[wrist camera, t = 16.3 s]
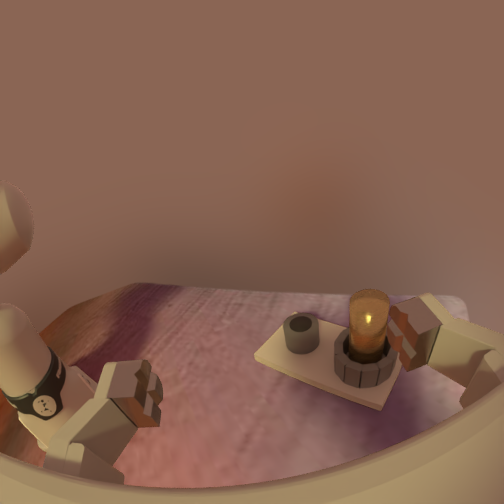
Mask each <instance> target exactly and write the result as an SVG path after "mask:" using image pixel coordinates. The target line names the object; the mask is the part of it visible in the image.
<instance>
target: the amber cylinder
mask: <svg viewBox="0 0 504 504" xmlns="http://www.w3.org/2000/svg"><path fill="white" fill-rule="evenodd" d="M389 304H390V301H389V298H388V296H387V295H386V294H385V293H383V292H381V291H379V290H375V289H365V290H361V291H358V292H356V293H355V294H353V296H352V297H351V298H350V321H349V355H348V358H349V359H350V360H351V361H354V362H357V363H360V364H372V363H377V362H379V361H380V360H382V354H383V348H384V342H385V335H386V328H387V321H388V313H389Z"/></svg>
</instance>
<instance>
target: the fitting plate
mask: <svg viewBox="0 0 504 504" xmlns="http://www.w3.org/2000/svg"><path fill="white" fill-rule="evenodd" d="M399 354H400V353H399V352H397V351H395V350H393V349H392V347H391V345H390V343H389V341H388V337H387V328H386V335H385V342H384V348H383V354H382V360H380V361H379V362H377V363H372V364H360V363H357V362H354V361H351V360H350V359H349V358H348V355H349V327H348V328H346V327H343V326H340V325H336V324H333V323H330V322H326V321H323V320H320V319H317V318H316V317H315V316H314V315H312V314H309V313H298V312H294V313H293V314H292V315H291V316H290V317H288V318H287V319H286V320H285V321H284V324H283V325H282V326H281V327H280V328H279V329H278V330H277V331H276V332H275V333H274V334H273V335H272V336H271V337H270V338H269V339H268V340H267V341H266V342H265V343H264V344H263V346H262V347H261V348H260V349H259V350H258V351H257V352H256V353H255V354H254V356H255V360H256V361H258V362H260V363H263V364H265V365H267V366H269V367H271V368H273V369H275V370H278V371H280V372H282V373H284V374H287V375H289V376H291V377H293V378H296V379H298V380H300V381H303V382H305V383H307V384H310V385H312V386H315V387H317V388H319V389H322V390H324V391H327V392H329V393H332V394H335V395H337V396H340V397H342V398H345V399H348V400H350V401H353V402H356V403H359V404H361V405H364V406H367V407H370V408H373V409H376V410H379V411H381V410H382V408H383V406H384V404H385V402H386V400H387V398H388V396H389V394H390V392H391V390H392V388H393V385H394V383H395V381H396V379H397V377H398V374H399V372H400V370H401V367H402V363H401V361H400V360H399Z"/></svg>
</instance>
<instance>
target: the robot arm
mask: <svg viewBox="0 0 504 504" xmlns="http://www.w3.org/2000/svg"><path fill="white" fill-rule="evenodd" d="M33 232H34V221H33V215H32V210H31V207H30V205H29V203H28V201H27V199H26V197H25V196H24V194H23V193H22V192H21V191H20V190H19V189H18V188H17V187H16V186H14V185H13V184H11V183H9V182H7V181H2V180H0V275H1V274H2V273H4V272H6V271H7V270H8V269H9V268H10V267H11V266H12V265H13V264H14V263H16V262H17V261H18V260H19V259H20V258H21V257H22V256H23V255H24V254H25V253H26V252H27V251H29V249H30V247H31V243H32V239H33ZM389 315H390V317H391V318H392V319H391V320H390V322H389V323H388V324H387V337H388V341H389V343H390V345H391V347H392V349H393V350H395V351H397V352H399V353H400V354H399V360H400V361H401V363H402V365H403V366H404V368H405V369H406V371H407V372H409V371H411V370H414V369H416V368H419V367H421V366H423V365H426V364H427V365H428V366H430V367H431V368H433V369H435V370H437V371H438V372H440V373H442V374H443V375H445V376H447V377H448V378H450V379H452V380H454V381H455V382H457V383H459V384H460V385H462V386H464V387H466V389H465V391H464V393H463V394H462V396H461V398H460V401H459V402H460V404H461V405H462V407H463V410H461V411H459V412H458V413H456V414H454V415H453V416H451V417H449V418H448V419H446V420H444V421H442V422H440V423H439V424H437V425H435V426H433V427H431V428H429V429H427V430H425V431H423V432H421V433H419V434H417V435H415V436H413V437H411V438H409V439H406V440H404V441H402V442H400V443H397V444H395V445H393V446H390V447H388V448H386V449H383V450H381V451H378V452H375V453H373V454H370V455H367V456H364V457H362V458H359V459H356V460H353V461H350V462H347V463H344V464H340V465H337V466H334V467H330V468H326V469H323V470H319V471H315V472H311V473H307V474H303V475H298V476H293V477H289V478H283V479H278V480H272V481H266V482H260V483H252V484H244V485H235V486H223V487H206V488H161V487H144V486H133V485H124V475H123V473H121V472H120V471H118V470H117V469H115V468H114V467H112V466H113V464H114V463H115V462H116V460H117V459H118V457H119V456H120V454H121V453H122V451H123V450H124V449H125V447H126V446H127V444H128V443H129V441H130V440H131V438H132V437H133V435H134V434H135V433H136V431H137V430H138V428H145V427H160V418H161V410H160V408H159V407H158V405H159V404H160V403H161V401H162V400H163V388H162V384H161V381H160V379H159V377H158V376H157V375H156V374H154V373H153V372H151V367H152V366H151V365H150V363H149V362H148V360H131V361H119V362H107V363H106V364H105V365H104V367H103V370H102V373H101V376H100V379H99V383H98V384H97V383H96V382H95V381H94V380H92V379H91V378H90V377H89V376H88V375H86V374H85V373H84V372H83V371H82V370H81V369H79V368H78V367H77V366H72V367H69V366H68V365H67V364H66V363H65V362H64V361H63V360H61V359H60V358H59V357H58V356H57V354H56V353H55V352H54V351H53V350H52V349H51V348H50V347H48V346H46V344H45V343H44V341H43V340H42V339H41V337H40V336H39V334H38V333H37V331H36V329H35V328H34V326H33V325H32V323H31V322H30V320H29V318H28V317H27V315H26V314H25V313H24V312H23V311H22V310H21V309H19V308H18V307H16V306H14V305H12V304H8V303H0V388H1V389H2V392H3V394H4V396H5V397H6V398H7V400H8V401H9V402H10V404H11V405H12V406H14V407H15V408H16V409H17V410H18V415H19V420H20V421H21V422H22V424H23V425H24V426H25V427H26V428H27V429H28V430H29V431H30V432H31V433H32V434H33V435H34V436H35V437H36V438H37V441H38V446H39V447H40V448H41V449H42V450H43V451H47V453H46V456H45V460H44V464H43V468H42V467H39V466H36V465H32V464H29V463H27V462H24V461H21V460H18V459H15V458H13V457H10V456H8V455H5V454H3V453H0V504H504V334H501V333H498V332H495V331H493V330H490V329H487V328H484V327H482V326H479V325H476V324H473V323H471V322H468V321H465V320H462V319H460V318H457V319H454V318H453V317H452V315H451V314H450V313H449V312H448V311H447V310H446V309H445V308H444V307H443V306H442V305H441V304H440V303H439V302H438V301H437V299H436V298H435V297H434V296H433V295H432V294H430V293H425V294H422V295H419V296H417V297H414V298H411V299H408V300H406V301H403V302H400V303H397V304H394V305H392V306H391V308H390V311H389Z"/></svg>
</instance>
